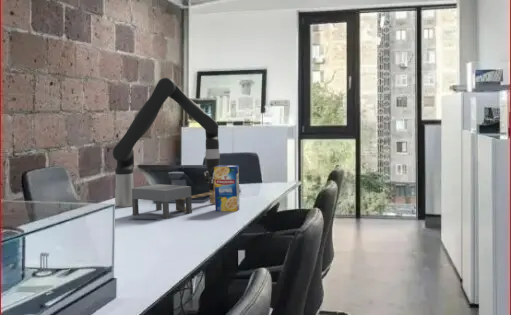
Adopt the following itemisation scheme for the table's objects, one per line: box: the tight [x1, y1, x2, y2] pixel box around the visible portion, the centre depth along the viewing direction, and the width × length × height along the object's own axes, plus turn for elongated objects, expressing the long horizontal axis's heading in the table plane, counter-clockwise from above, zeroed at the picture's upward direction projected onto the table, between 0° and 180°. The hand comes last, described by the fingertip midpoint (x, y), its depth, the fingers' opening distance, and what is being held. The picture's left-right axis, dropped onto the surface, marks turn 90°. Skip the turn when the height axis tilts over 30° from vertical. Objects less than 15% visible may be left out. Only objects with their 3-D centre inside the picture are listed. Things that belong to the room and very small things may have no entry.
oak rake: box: [175, 177, 215, 212], centre depth 298 cm, size 28×5×14 cm, turn 145°
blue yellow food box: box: [214, 164, 241, 212], centre depth 287 cm, size 7×11×22 cm, turn 81°
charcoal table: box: [131, 183, 193, 220], centre depth 279 cm, size 22×18×13 cm
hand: (213, 189), depth 308 cm, fingers closed on oak rake, 3 cm apart
